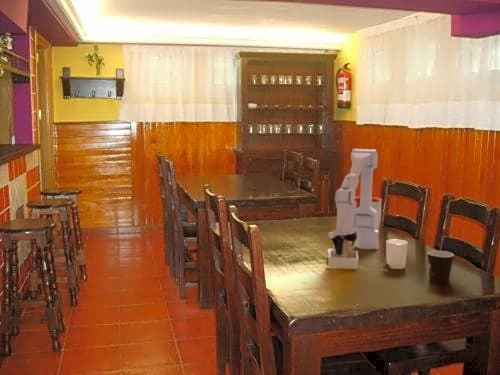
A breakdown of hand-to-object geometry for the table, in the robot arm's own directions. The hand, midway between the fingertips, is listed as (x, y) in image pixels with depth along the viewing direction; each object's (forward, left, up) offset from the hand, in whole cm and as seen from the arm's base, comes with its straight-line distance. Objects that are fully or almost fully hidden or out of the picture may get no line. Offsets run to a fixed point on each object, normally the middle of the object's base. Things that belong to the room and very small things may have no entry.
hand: (343, 253), depth 208 cm
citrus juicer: (-10, -56, -4) cm, 57 cm away
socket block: (0, 0, -1) cm, 1 cm away
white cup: (-20, 0, -4) cm, 20 cm away
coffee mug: (-34, +14, -4) cm, 37 cm away
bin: (0, 0, -4) cm, 4 cm away
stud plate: (+3, -15, -4) cm, 16 cm away
